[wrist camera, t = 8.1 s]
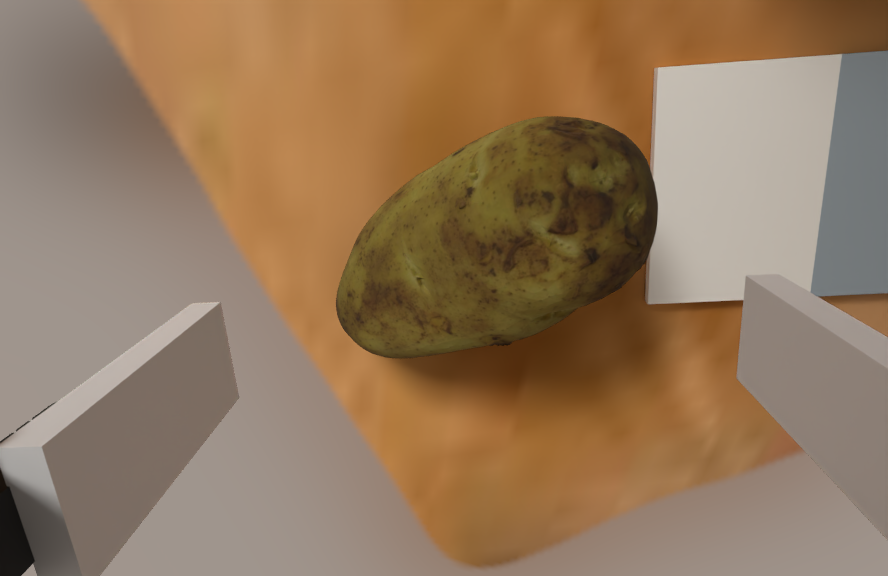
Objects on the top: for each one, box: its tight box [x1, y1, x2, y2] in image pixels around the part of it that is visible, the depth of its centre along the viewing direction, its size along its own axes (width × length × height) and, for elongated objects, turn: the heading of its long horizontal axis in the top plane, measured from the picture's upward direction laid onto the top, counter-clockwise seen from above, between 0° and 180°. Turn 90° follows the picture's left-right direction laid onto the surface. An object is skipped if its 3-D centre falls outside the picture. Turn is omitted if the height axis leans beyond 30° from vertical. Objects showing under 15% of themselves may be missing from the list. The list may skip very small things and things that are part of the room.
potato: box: [336, 117, 658, 358], centre depth 23 cm, size 8×13×8 cm, turn 104°
